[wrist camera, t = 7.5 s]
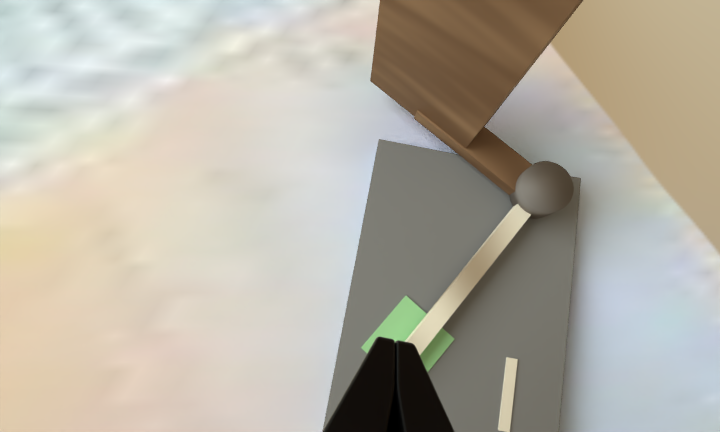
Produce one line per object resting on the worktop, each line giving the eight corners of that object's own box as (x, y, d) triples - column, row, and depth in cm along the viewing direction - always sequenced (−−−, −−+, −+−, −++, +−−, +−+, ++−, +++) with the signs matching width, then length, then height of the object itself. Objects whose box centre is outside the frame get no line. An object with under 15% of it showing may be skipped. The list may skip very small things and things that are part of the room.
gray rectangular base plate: (543, 478, 20) (554, 488, 19) (321, 435, 20) (320, 442, 19) (570, 183, 23) (582, 177, 22) (377, 146, 23) (379, 138, 22)
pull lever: (411, 391, 20) (570, 589, 6) (229, 229, 21) (8, 78, 7) (566, 192, 22) (947, -2, 8) (393, 56, 23) (469, -317, 9)
